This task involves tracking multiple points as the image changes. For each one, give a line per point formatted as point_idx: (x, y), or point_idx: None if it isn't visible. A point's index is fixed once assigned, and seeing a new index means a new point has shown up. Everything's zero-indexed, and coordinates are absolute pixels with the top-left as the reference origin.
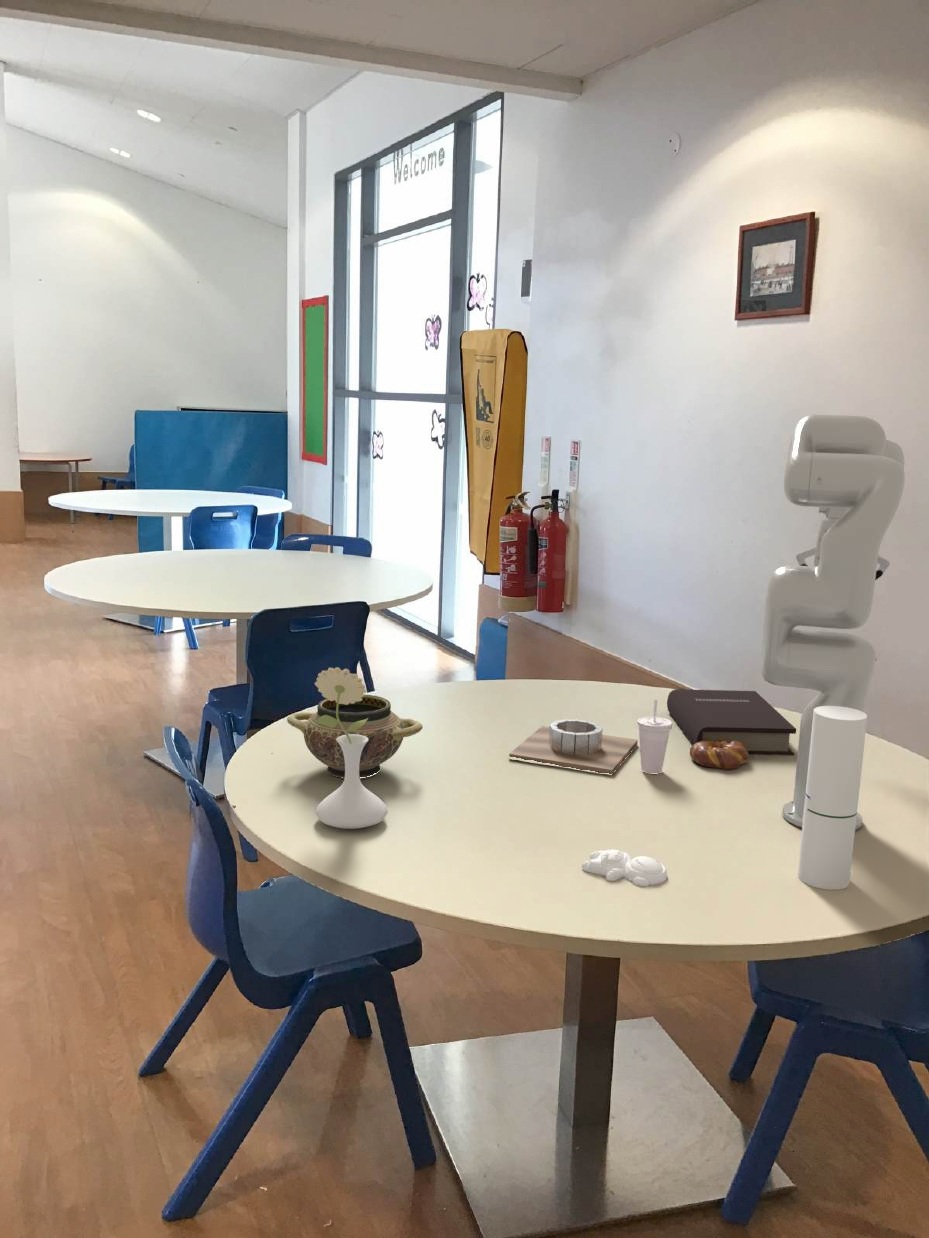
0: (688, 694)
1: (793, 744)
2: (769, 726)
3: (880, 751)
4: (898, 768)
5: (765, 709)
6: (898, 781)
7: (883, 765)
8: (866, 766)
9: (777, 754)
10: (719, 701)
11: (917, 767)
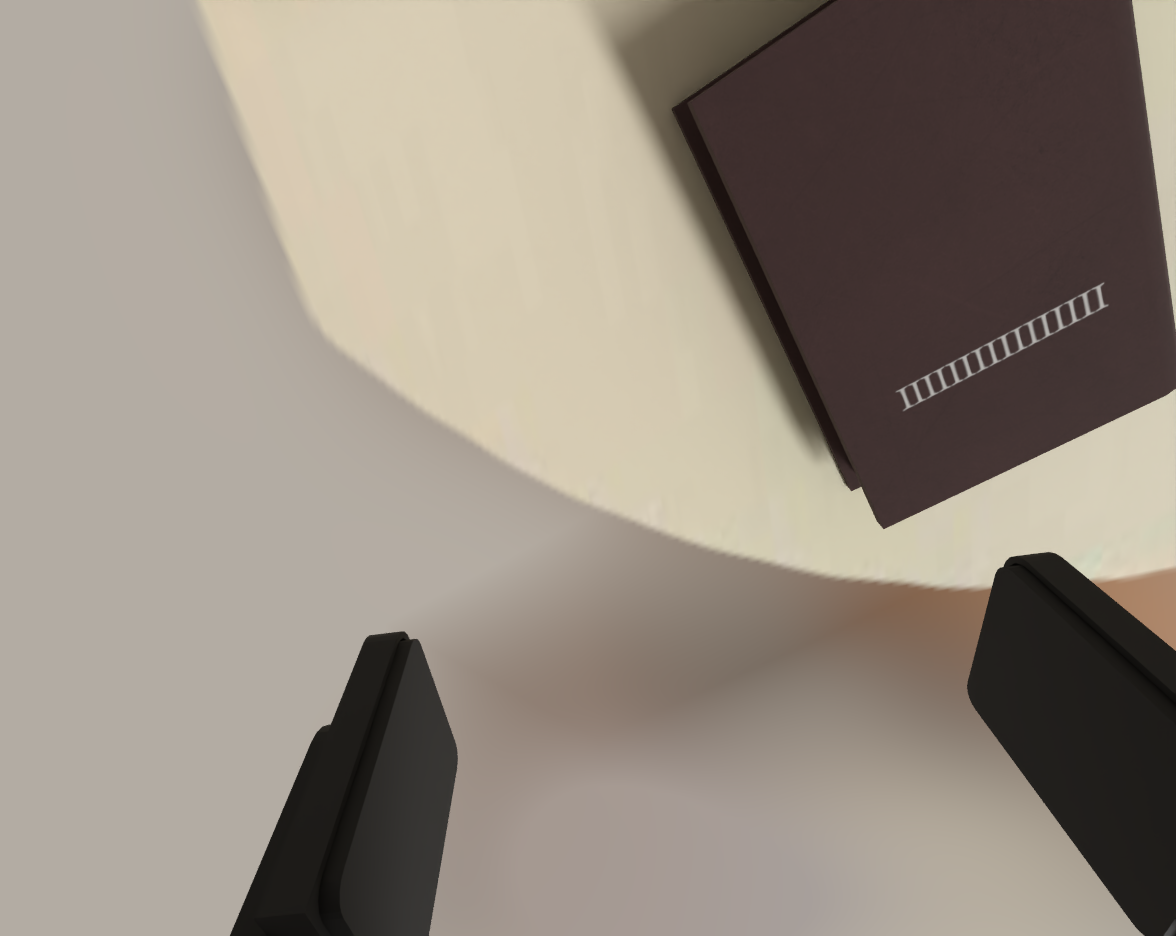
0: (1127, 351)
1: (693, 249)
2: (800, 62)
3: (437, 346)
4: (332, 188)
5: (835, 322)
6: (275, 13)
7: (382, 191)
8: (424, 139)
9: (726, 71)
10: (1010, 326)
11: (289, 242)
